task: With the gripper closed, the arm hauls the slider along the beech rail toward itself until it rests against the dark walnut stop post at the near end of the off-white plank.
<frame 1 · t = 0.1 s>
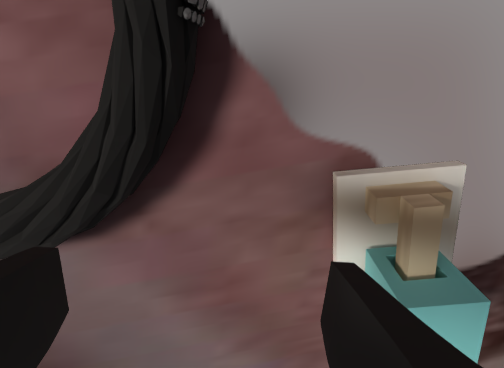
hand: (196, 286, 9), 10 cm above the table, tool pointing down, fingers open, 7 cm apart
slider: (415, 302, 17), point 4 cm above the table, slide at 0.0 cm
rail: (384, 312, 22), on the table
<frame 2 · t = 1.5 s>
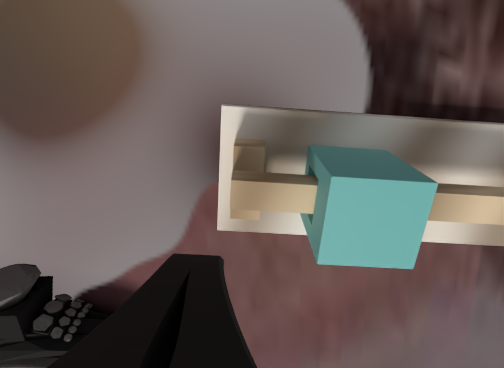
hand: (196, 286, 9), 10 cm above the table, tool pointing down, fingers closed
slider: (355, 200, 15), point 4 cm above the table, slide at 0.0 cm
rail: (405, 179, 18), on the table
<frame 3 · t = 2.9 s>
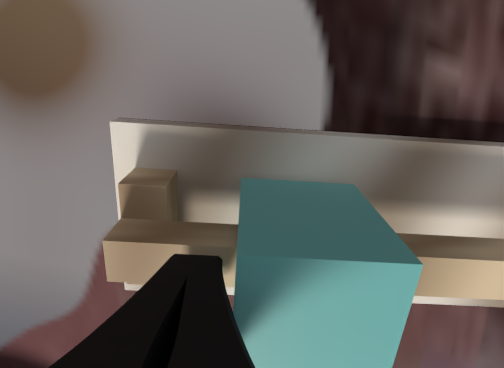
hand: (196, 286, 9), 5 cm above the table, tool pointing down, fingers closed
slider: (301, 267, 10), point 4 cm above the table, slide at 0.1 cm, touching gripper
rail: (382, 219, 13), on the table
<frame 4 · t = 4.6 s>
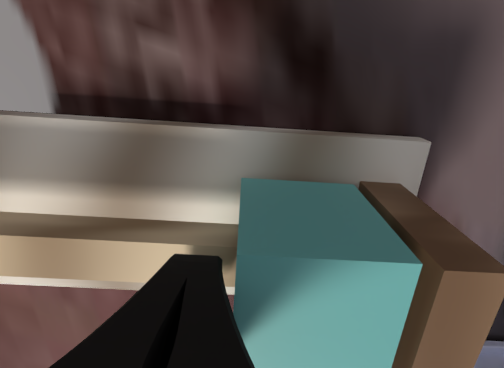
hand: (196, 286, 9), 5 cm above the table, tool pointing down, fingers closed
slider: (302, 266, 10), point 4 cm above the table, slide at 9.9 cm, touching gripper
rail: (143, 206, 13), on the table
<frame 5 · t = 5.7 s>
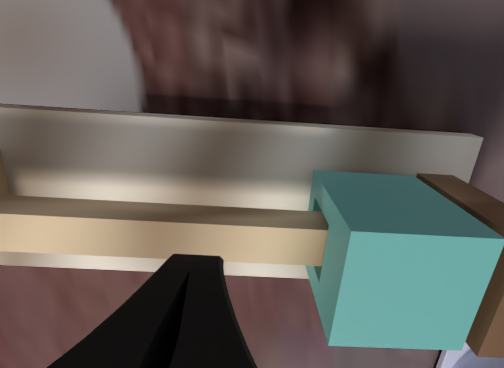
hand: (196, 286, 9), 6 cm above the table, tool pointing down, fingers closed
slider: (377, 248, 11), point 4 cm above the table, slide at 9.9 cm
rail: (214, 197, 14), on the table
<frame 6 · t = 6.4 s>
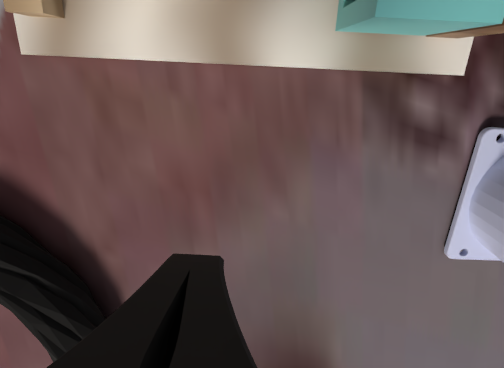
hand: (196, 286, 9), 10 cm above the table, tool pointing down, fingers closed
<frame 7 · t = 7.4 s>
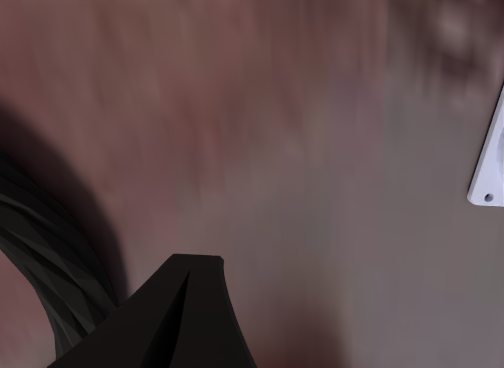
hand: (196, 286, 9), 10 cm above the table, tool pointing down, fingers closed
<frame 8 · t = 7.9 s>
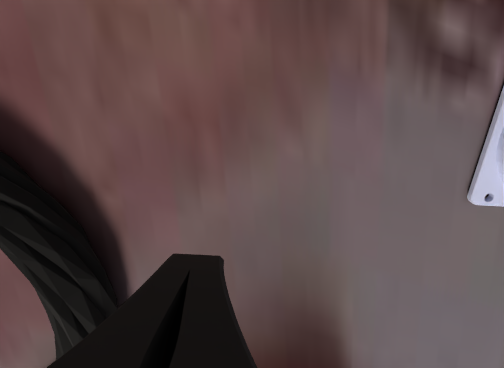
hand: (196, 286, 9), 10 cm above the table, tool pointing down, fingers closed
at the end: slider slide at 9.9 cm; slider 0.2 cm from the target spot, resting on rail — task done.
